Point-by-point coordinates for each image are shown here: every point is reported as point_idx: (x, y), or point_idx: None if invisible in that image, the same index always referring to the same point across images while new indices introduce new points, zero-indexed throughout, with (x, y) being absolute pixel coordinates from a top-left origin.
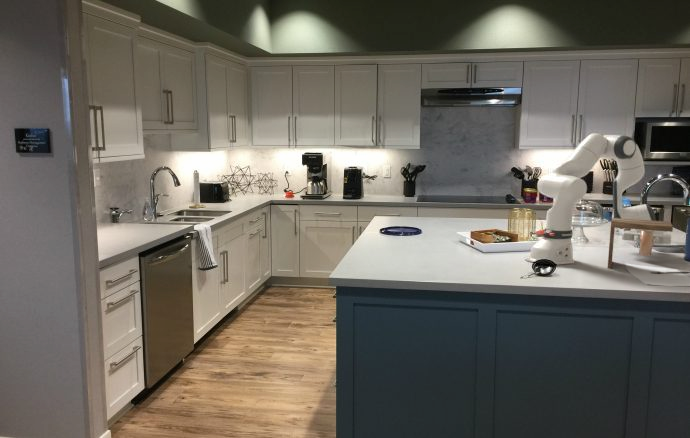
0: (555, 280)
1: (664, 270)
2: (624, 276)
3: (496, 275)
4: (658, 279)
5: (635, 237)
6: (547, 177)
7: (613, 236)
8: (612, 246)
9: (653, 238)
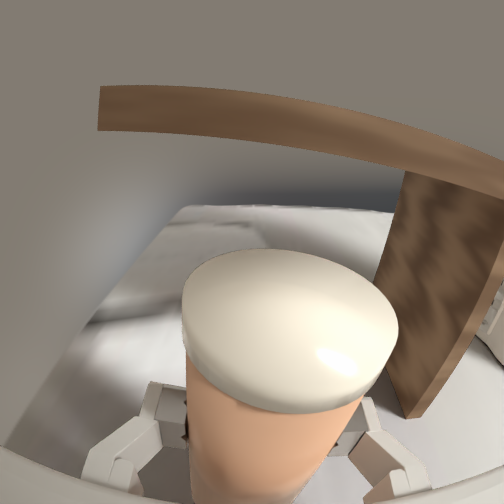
0: None
1: (160, 336)
2: None
3: None
4: (215, 250)
5: (394, 452)
6: None
7: (401, 191)
8: (390, 232)
9: (181, 398)
